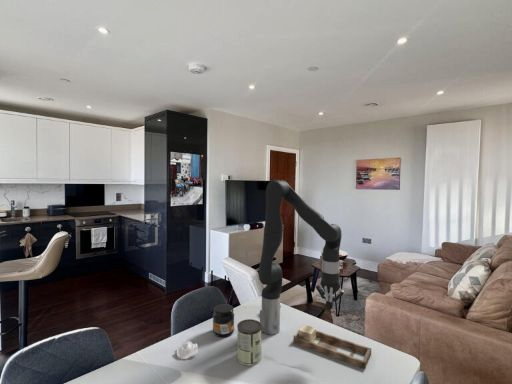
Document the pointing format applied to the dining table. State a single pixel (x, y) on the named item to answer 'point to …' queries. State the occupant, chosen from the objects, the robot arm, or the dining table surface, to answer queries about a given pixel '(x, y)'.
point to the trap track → (335, 348)
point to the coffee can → (249, 342)
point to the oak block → (307, 333)
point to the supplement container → (223, 320)
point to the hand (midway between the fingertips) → (329, 309)
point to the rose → (187, 350)
